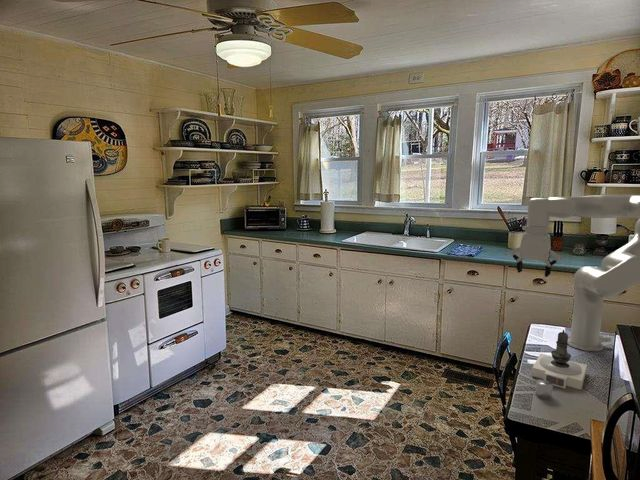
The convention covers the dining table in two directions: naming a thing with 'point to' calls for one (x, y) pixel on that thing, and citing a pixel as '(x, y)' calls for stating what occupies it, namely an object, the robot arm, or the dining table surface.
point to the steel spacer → (544, 389)
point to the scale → (559, 372)
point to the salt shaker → (561, 351)
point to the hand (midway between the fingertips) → (532, 274)
